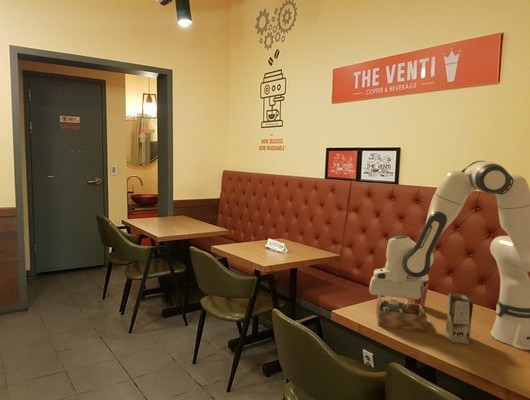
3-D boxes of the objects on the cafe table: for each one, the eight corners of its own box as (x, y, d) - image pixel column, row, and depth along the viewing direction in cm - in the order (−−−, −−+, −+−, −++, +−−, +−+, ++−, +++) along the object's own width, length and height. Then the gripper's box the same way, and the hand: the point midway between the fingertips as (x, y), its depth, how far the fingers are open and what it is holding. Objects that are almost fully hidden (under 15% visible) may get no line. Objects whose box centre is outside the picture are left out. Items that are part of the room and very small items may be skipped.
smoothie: (430, 308, 181) (434, 266, 179) (414, 309, 179) (418, 266, 177) (418, 302, 189) (422, 261, 187) (403, 303, 187) (407, 261, 185)
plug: (397, 316, 167) (398, 298, 166) (398, 320, 163) (399, 301, 162) (387, 315, 167) (388, 297, 167) (387, 319, 164) (389, 300, 163)
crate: (419, 317, 170) (420, 304, 169) (425, 331, 156) (426, 317, 155) (376, 312, 173) (377, 299, 173) (378, 325, 160) (379, 311, 159)
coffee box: (469, 344, 147) (474, 302, 145) (450, 342, 148) (455, 300, 146) (462, 333, 156) (466, 294, 154) (445, 331, 157) (448, 292, 155)
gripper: (421, 274, 164) (418, 306, 166) (370, 269, 168) (368, 301, 170) (423, 279, 158) (421, 312, 159) (371, 273, 162) (368, 306, 164)
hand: (393, 306), depth 165 cm, fingers open, 8 cm apart
